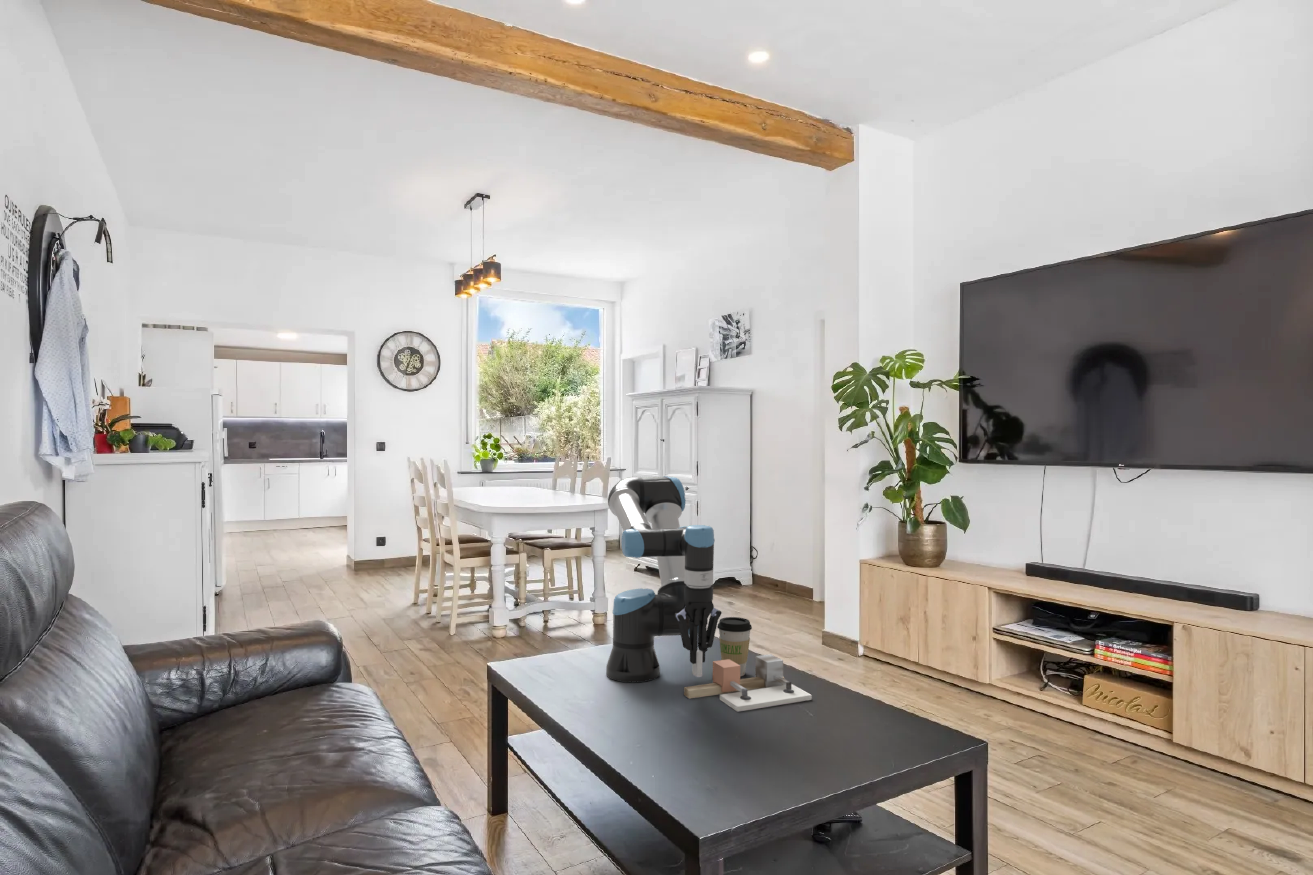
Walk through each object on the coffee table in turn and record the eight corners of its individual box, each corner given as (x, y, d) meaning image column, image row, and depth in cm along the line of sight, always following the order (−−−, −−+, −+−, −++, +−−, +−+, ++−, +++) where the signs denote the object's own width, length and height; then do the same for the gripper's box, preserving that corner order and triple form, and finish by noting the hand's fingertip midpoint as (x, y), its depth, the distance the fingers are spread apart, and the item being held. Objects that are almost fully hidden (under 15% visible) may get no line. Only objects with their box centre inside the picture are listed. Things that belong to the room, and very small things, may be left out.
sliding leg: (712, 685, 200) (712, 661, 200) (728, 683, 202) (729, 659, 202) (737, 701, 188) (737, 676, 188) (754, 699, 190) (754, 673, 190)
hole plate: (719, 699, 192) (719, 694, 192) (791, 688, 201) (791, 683, 201) (737, 711, 184) (737, 706, 184) (811, 699, 193) (811, 694, 193)
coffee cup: (710, 670, 215) (711, 618, 215) (739, 666, 220) (740, 615, 219) (727, 680, 207) (728, 626, 206) (758, 676, 211) (758, 623, 211)
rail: (681, 692, 196) (681, 665, 196) (775, 679, 208) (775, 653, 208) (704, 710, 184) (705, 681, 184) (802, 694, 196) (803, 667, 196)
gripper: (682, 590, 189) (681, 683, 189) (727, 586, 194) (726, 676, 195) (669, 584, 195) (668, 673, 196) (713, 580, 201) (712, 667, 201)
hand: (697, 674), depth 195 cm, fingers closed
